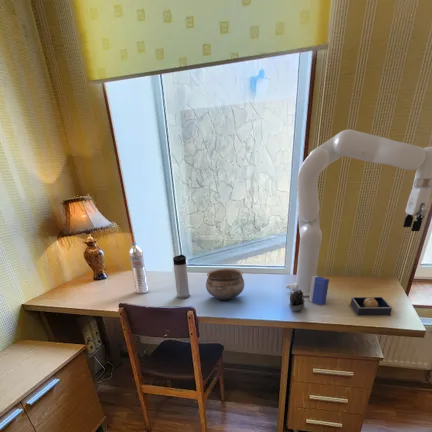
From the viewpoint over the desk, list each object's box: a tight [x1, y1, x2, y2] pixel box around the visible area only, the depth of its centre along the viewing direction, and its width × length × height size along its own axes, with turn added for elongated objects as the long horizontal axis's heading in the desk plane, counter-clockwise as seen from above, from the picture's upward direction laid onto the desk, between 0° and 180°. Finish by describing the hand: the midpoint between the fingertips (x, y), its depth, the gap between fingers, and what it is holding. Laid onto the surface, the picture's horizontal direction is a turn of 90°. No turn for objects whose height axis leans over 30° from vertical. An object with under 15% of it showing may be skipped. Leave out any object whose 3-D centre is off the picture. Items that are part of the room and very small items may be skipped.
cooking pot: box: [205, 268, 245, 301], centre depth 163 cm, size 25×19×12 cm
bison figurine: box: [289, 289, 306, 312], centre depth 148 cm, size 12×7×10 cm, turn 170°
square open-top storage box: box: [349, 296, 393, 317], centre depth 145 cm, size 13×13×4 cm
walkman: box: [308, 275, 330, 306], centre depth 153 cm, size 8×3×12 cm, turn 32°
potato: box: [364, 296, 378, 307], centre depth 144 cm, size 5×8×5 cm, turn 175°
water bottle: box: [128, 242, 149, 295], centre depth 172 cm, size 7×7×25 cm
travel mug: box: [172, 254, 190, 300], centre depth 165 cm, size 6×7×20 cm
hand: (410, 229), depth 145 cm, fingers open, 9 cm apart
